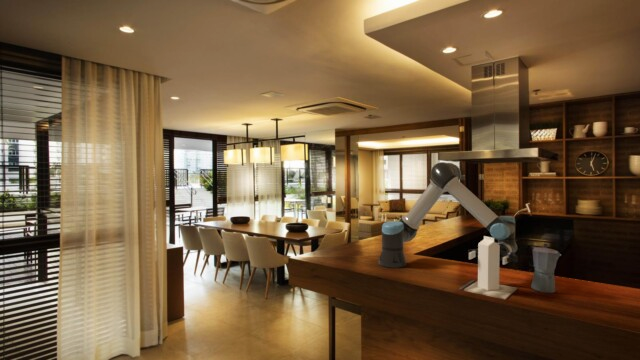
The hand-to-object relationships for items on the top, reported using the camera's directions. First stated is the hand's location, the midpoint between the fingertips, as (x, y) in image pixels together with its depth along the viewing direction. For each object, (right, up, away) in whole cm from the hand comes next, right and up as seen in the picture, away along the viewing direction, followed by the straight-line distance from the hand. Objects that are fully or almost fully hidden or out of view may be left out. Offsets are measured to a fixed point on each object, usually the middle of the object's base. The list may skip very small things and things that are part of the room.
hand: (486, 258), depth 148 cm
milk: (+2, -13, +3) cm, 14 cm away
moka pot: (+26, -14, +3) cm, 29 cm away
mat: (+2, -14, +3) cm, 14 cm away
